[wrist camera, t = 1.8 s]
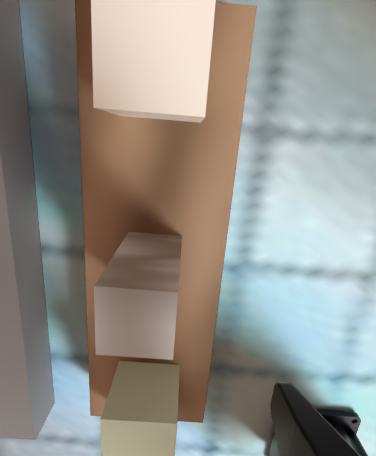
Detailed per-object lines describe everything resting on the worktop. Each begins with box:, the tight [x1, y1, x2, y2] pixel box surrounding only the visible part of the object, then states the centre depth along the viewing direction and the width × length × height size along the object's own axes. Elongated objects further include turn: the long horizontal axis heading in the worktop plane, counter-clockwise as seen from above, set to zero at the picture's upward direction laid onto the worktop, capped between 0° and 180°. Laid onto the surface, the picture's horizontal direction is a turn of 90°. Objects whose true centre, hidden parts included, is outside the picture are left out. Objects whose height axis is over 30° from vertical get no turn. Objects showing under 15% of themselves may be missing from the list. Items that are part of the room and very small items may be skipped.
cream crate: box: [91, 0, 216, 123], centre depth 11 cm, size 4×4×4 cm
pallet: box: [75, 0, 257, 423], centre depth 15 cm, size 8×25×9 cm, turn 176°
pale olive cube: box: [101, 361, 180, 456], centre depth 17 cm, size 4×4×4 cm
